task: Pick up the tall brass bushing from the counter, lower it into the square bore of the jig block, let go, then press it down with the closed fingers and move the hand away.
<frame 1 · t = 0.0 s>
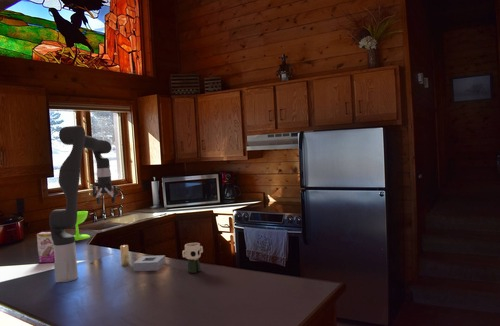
hand: (106, 203, 231), 29 cm above the counter, tool pointing down, fingers open, 8 cm apart
jig block: (150, 267, 199), on the counter
wineglass: (77, 238, 283), on the counter
candy bar box: (50, 262, 222), on the counter
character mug: (194, 272, 186), on the counter
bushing: (125, 265, 205), on the counter
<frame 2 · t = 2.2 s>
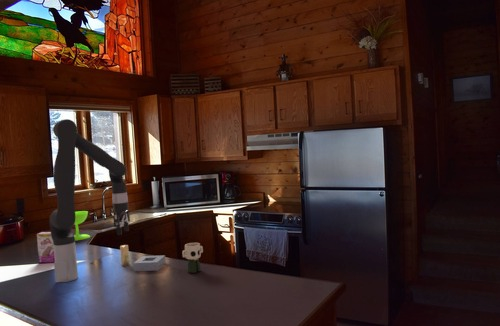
hand: (123, 232, 204), 17 cm above the counter, tool pointing down, fingers open, 8 cm apart
nothing on the counter moved.
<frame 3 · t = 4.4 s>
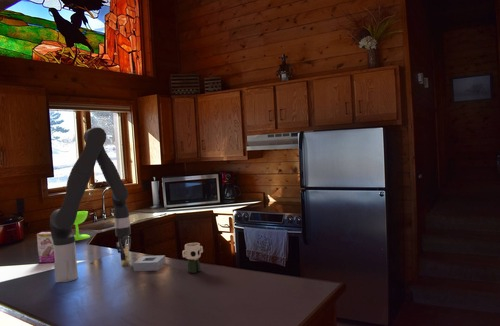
hand: (125, 258, 205), 3 cm above the counter, tool pointing down, fingers closed on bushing, 4 cm apart
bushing: (125, 265, 205), on the counter, touching gripper
everything else where it was.
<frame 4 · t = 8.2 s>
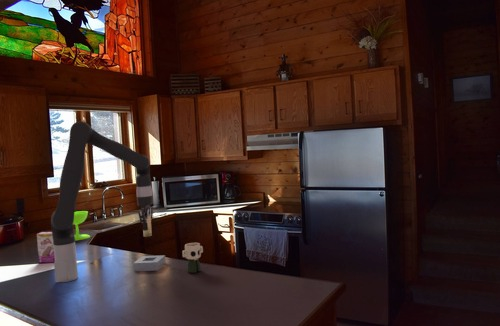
hand: (147, 229, 198), 19 cm above the counter, tool pointing down, fingers closed on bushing, 4 cm apart
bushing: (147, 235, 198), point 16 cm above the counter, touching gripper
everything else where it was.
when the fingers open (5 cm above the counter, at t = 11.9 s): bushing drops 2 cm, resting in jig block.
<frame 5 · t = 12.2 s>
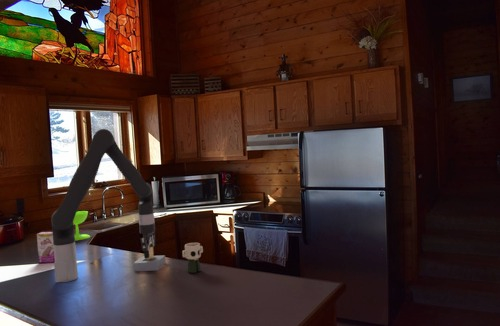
hand: (149, 255, 198), 6 cm above the counter, tool pointing down, fingers open, 6 cm apart
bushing: (150, 267, 198), resting in jig block
everything else where it was.
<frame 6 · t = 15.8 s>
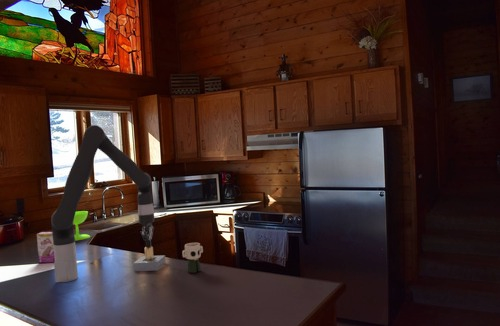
hand: (148, 247, 198), 10 cm above the counter, tool pointing down, fingers closed
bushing: (150, 267, 198), resting in jig block, touching gripper
everything else where it was.
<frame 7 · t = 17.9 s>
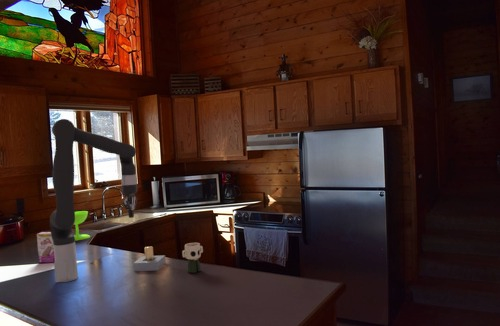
hand: (131, 217, 204), 25 cm above the counter, tool pointing down, fingers closed
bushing: (150, 267, 198), resting in jig block
everything else where it was.
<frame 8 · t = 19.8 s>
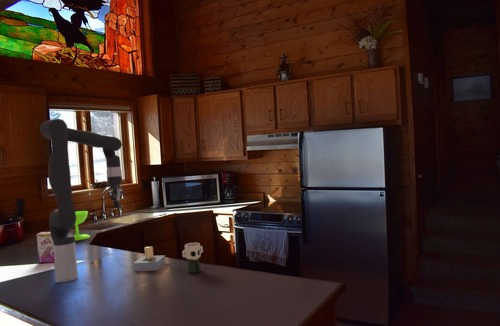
hand: (116, 208, 210), 29 cm above the counter, tool pointing down, fingers closed
nothing on the counter moved.
at the end: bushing 0.1 cm off-centre on the jig block, point 0.0 cm above the jig block's base; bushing tilted 0°; the gripper is holding nothing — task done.
